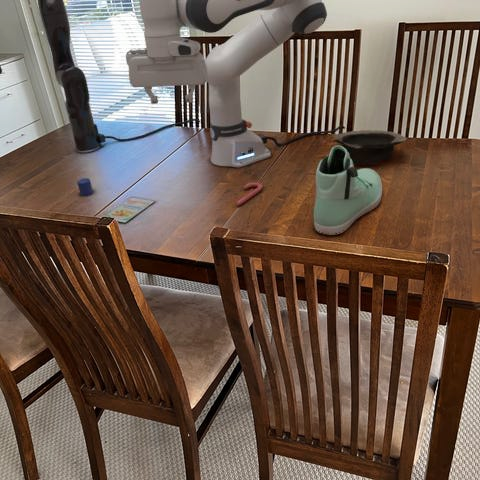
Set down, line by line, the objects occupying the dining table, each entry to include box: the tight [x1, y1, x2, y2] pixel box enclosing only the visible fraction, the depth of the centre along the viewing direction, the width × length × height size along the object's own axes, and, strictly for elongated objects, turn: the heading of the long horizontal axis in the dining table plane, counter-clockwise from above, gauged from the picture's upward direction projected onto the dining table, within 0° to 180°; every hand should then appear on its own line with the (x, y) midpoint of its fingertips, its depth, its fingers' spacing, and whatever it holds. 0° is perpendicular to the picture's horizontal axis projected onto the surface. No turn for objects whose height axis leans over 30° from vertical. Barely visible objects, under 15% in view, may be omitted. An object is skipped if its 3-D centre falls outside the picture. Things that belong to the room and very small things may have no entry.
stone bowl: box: [332, 130, 407, 166], centre depth 168 cm, size 25×25×9 cm
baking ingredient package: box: [104, 197, 155, 223], centre depth 147 cm, size 9×1×15 cm
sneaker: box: [313, 145, 383, 236], centre depth 133 cm, size 14×35×20 cm, turn 152°
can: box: [76, 177, 94, 197], centre depth 160 cm, size 4×4×5 cm
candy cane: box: [235, 181, 263, 207], centre depth 150 cm, size 6×15×2 cm, turn 145°
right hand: (172, 102), depth 127 cm, fingers open, 8 cm apart
